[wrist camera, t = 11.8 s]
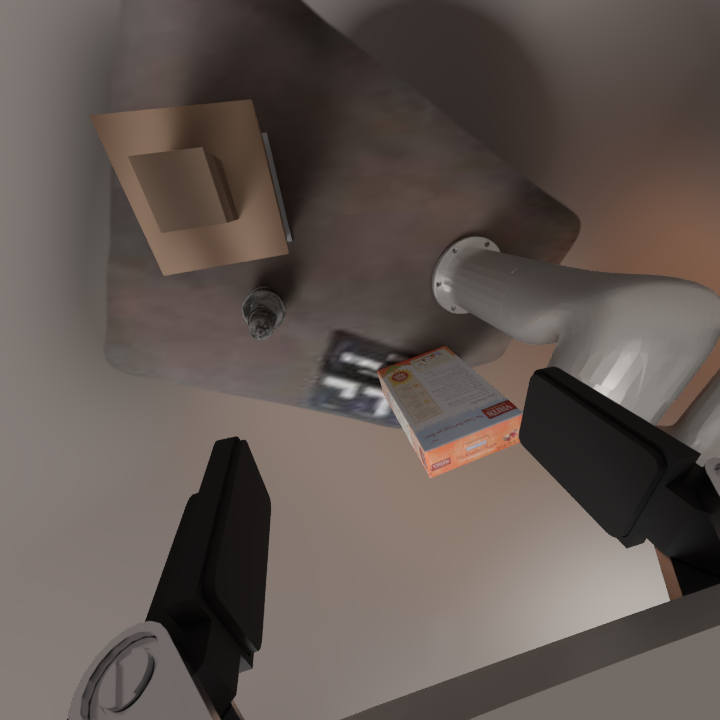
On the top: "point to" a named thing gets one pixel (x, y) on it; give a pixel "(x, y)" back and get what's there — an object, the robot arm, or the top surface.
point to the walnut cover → (197, 183)
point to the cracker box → (448, 410)
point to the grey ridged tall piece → (263, 312)
